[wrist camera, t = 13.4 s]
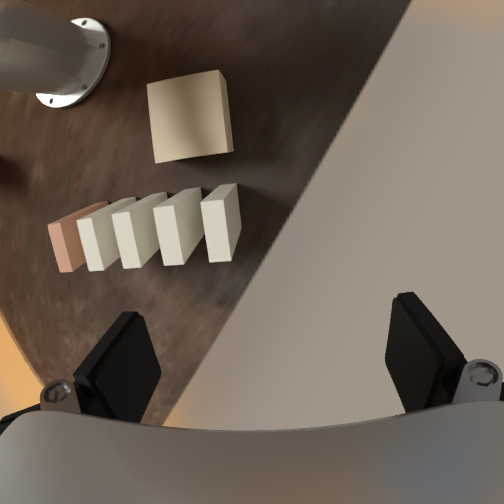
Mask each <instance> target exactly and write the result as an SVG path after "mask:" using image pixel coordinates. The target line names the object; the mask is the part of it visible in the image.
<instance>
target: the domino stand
mask: <svg viewBox="0 0 504 504" xmlns="http://www.w3.org/2000/svg"><path fill="white" fill-rule="evenodd" d="M147 92H148V103H149V114H150V123H151V132H152V141H153V149H154V156H155V163H160V162H165V161H171V160H177V159H184V158H190V157H197V156H204V155H211V154H219V153H227V152H233V151H234V149H233V140H232V131H231V122H230V113H229V104H228V95H227V85H226V80H225V78H224V77H223V75H222V74H221V72H220V71H219V70H214V71H207V72H202V73H196V74H191V75H186V76H181V77H176V78H171V79H167V80H163V81H158V82H154V83H150V84H147Z"/></svg>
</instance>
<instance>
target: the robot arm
mask: <svg viewBox="0 0 504 504" xmlns="http://www.w3.org/2000/svg"><path fill="white" fill-rule="evenodd" d="M110 53H111V40H110V35H109V33H108V31H107V29H106V28H105V27H104V25H102V24H101V23H99V22H98V21H96V20H94V19H91V18H78V19H75V20H72V21H68V20H66V19H64V18H62V17H60V16H58V15H55V14H53V13H51V12H49V11H46V10H44V9H42V8H39V7H37V6H35V5H32V4H30V3H27V2H25V1H22V0H0V91H7V92H14V93H15V94H16V95H17V94H19V93H21V92H22V93H33V94H36V95H37V97H38V98H39V100H40V101H41V102H42V103H43V104H45V105H47V106H49V107H53V108H65V107H69V106H72V105H74V104H76V103H78V102H79V101H81V100H83V99H84V98H85V97H86V96H87V95H88V94H90V92H91V91H92V90H93V89H94V88H95V87H96V85H97V84H98V82H99V81H100V80H101V78H102V76H103V74H104V72H105V70H106V68H107V65H108V62H109V58H110ZM385 362H386V366H387V368H388V371H389V373H390V375H391V378H392V380H393V382H394V385H395V387H396V390H397V392H398V394H399V397H400V399H401V402H402V404H403V407H404V409H405V412H406V413H404V414H400V415H395V416H390V417H384V418H379V419H374V420H367V421H361V422H354V423H348V424H340V425H331V426H322V427H311V428H298V429H282V430H246V431H245V430H244V431H243V430H205V429H189V428H176V427H166V426H157V425H148V424H141V423H140V421H141V419H142V417H143V415H144V412H145V410H146V408H147V406H148V403H149V401H150V399H151V397H152V395H153V392H154V390H155V388H156V386H157V384H158V381H159V379H160V377H161V369H160V366H159V363H158V360H157V357H156V354H155V351H154V348H153V345H152V342H151V339H150V336H149V333H148V330H147V327H146V323H145V320H144V317H143V316H142V315H140V314H139V313H138V312H137V311H135V312H123V313H122V314H121V315H120V316H119V317H118V318H117V320H116V321H115V322H114V323H113V324H112V326H111V327H110V328H109V329H108V331H107V332H106V333H105V334H104V335H103V337H102V338H101V339H100V340H99V342H98V343H97V344H96V345H95V347H94V348H93V349H92V350H91V352H90V353H89V354H88V356H87V357H86V358H85V359H84V361H83V362H82V363H81V365H80V366H79V367H78V368H77V370H76V371H75V372H74V374H73V376H74V378H75V381H74V383H72V382H71V381H70V380H66V379H59V380H55V381H53V382H51V383H49V384H48V385H46V386H45V387H44V389H43V390H42V392H41V394H40V403H39V404H37V405H34V406H31V407H29V408H26V409H23V410H21V411H18V412H15V413H12V414H10V415H7V416H5V417H3V418H2V419H1V420H0V504H504V382H502V379H503V378H502V372H501V370H500V368H499V367H498V366H497V365H496V364H494V363H493V362H491V361H488V360H484V359H476V360H472V361H470V362H467V360H466V359H465V358H464V355H463V353H462V352H461V351H460V349H459V348H458V347H457V346H456V344H455V343H454V341H453V340H452V339H451V338H450V336H449V335H448V334H447V332H446V331H445V330H444V329H443V327H442V326H441V325H440V323H439V322H438V321H437V320H436V318H435V317H434V316H433V315H432V313H431V312H430V311H429V310H428V309H427V307H426V306H425V305H424V304H423V303H422V301H421V300H420V299H419V298H418V297H417V295H416V294H415V293H414V292H406V293H399V294H398V296H397V298H394V299H393V302H392V311H391V319H390V327H389V334H388V341H387V348H386V353H385Z"/></svg>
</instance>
